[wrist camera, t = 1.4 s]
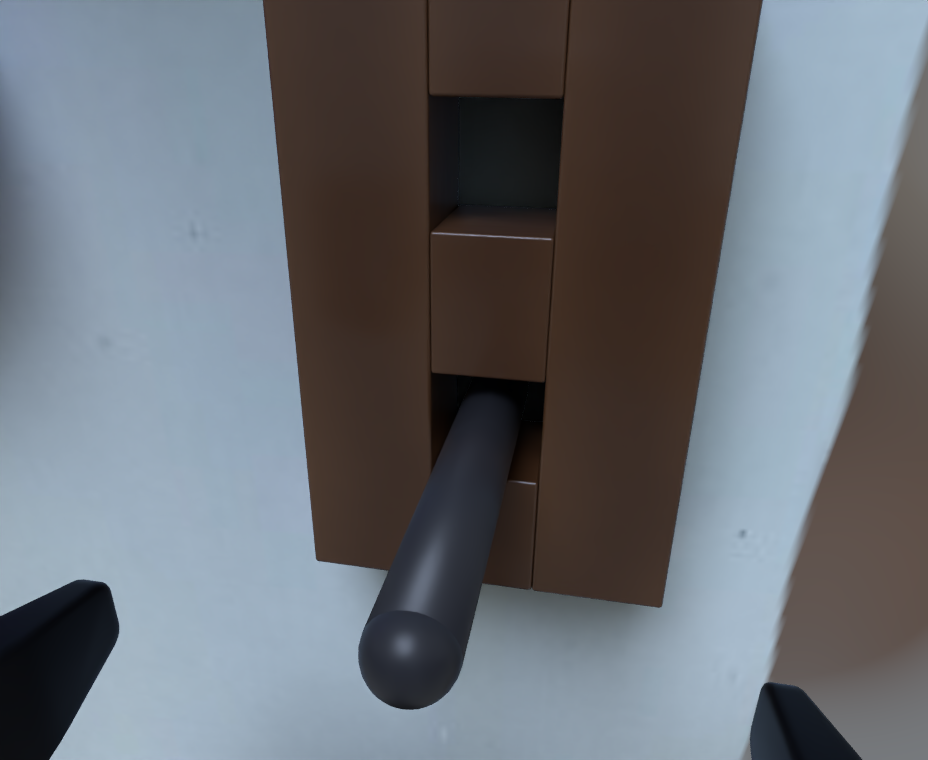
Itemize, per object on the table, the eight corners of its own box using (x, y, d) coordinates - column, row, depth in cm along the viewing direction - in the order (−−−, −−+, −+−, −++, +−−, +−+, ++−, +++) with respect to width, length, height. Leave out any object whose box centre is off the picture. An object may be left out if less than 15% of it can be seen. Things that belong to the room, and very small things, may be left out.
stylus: (505, 409, 18) (404, 749, 9) (465, 373, 18) (321, 686, 9) (543, 375, 17) (475, 703, 8) (502, 337, 17) (388, 632, 8)
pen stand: (354, 495, 20) (315, 562, 17) (318, -69, 14) (250, -102, 12) (654, 531, 19) (661, 609, 16) (746, -78, 13) (782, -117, 10)
